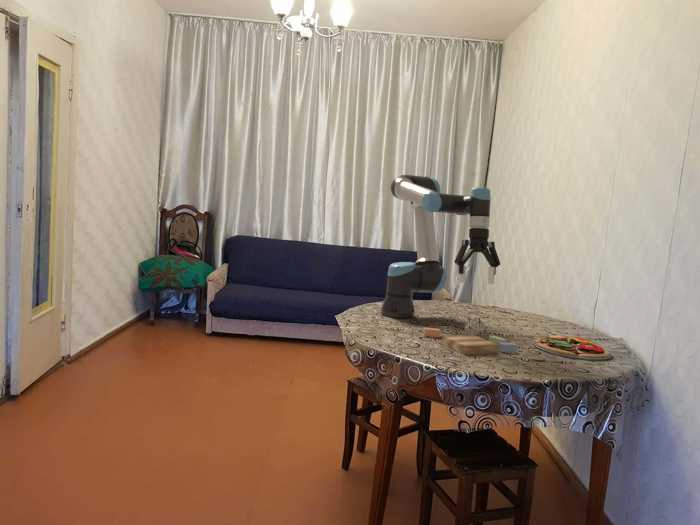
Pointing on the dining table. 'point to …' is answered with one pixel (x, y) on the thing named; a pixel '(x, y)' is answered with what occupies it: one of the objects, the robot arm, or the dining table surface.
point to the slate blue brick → (507, 347)
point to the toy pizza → (572, 348)
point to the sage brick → (496, 339)
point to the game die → (475, 327)
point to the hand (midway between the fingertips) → (476, 283)
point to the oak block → (469, 344)
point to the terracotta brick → (432, 332)
